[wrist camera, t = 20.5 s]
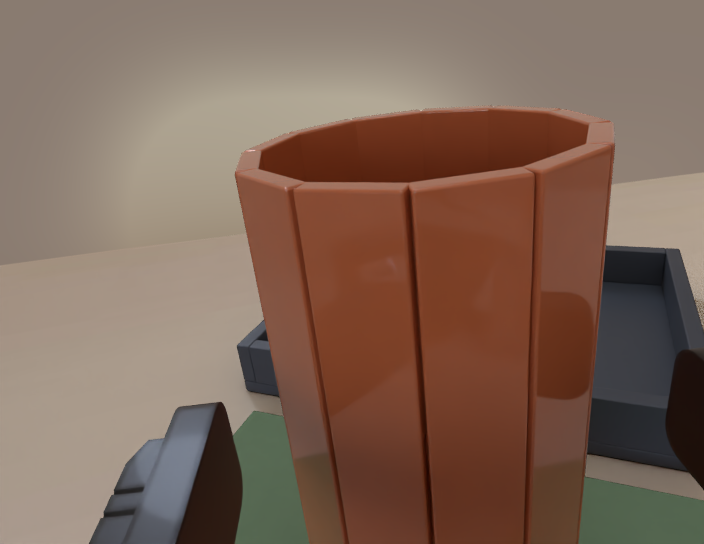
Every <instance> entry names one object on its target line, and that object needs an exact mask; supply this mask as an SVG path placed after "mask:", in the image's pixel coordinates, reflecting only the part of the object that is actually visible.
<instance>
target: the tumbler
mask: <svg viewBox="0 0 704 544" xmlns="http://www.w3.org/2000/svg"><path fill="white" fill-rule="evenodd" d="M614 132H615V130H614V123H612V122H611V121H609V120H605V119H601V118H597V117H593V116H590V115H585V114H581V113H578V112H574V111H571V110H567V109H564V110H561V109H559V108H539V107H519V106H495V107H493V106H474V107H453V108H433V109H424V110H422V111H420V110H411V111H403V112H395V113H387V114H380V115H372V116H365V117H357V118H353V119H352V120H350V119H345V120H341V121H336V122H332V123H328V124H323V125H319V126H314V127H311V128H306V129H301V130H297V131H293V132H290V133H289V134H283V135H281V136H278V137H276V138H274V139H271V140H269V141H267V142H264V143H262V144H260V145H257V146H255V147H253V148H250V149H248V150H246V151H244V152H243V153H241V156H240V159H239V162H238V165H237V168H236V171H235V178H236V183H237V187H238V193H239V198H240V203H241V208H242V212H243V218H244V223H245V228H246V233H247V238H248V243H249V247H250V252H251V257H252V262H253V267H254V272H255V277H256V282H257V287H258V292H259V297H260V302H261V307H262V312H263V317H264V322H265V327H266V332H267V337H268V342H269V346H270V351H271V356H272V361H273V366H274V371H275V376H276V381H277V386H278V391H279V396H280V401H281V406H282V411H283V416H284V421H285V426H286V431H287V436H288V440H289V445H290V450H291V455H292V460H293V465H294V470H295V475H296V480H297V485H298V490H299V495H300V500H301V505H302V510H303V515H304V520H305V525H306V530H307V535H308V539H309V544H579V535H580V524H581V513H582V502H583V491H584V480H585V469H586V458H587V447H588V436H589V425H590V414H591V403H592V392H593V381H594V370H595V359H596V349H597V338H598V327H599V316H600V305H601V294H602V283H603V272H604V261H605V250H606V239H607V228H608V217H609V206H610V195H611V184H612V173H613V163H614V162H613V161H614V152H615V151H614V150H615V133H614Z"/></svg>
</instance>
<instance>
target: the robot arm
mask: <svg viewBox="0 0 704 544" xmlns="http://www.w3.org/2000/svg"><path fill="white" fill-rule="evenodd" d="M665 428H666V434H667V438H668V441H669V443H670V446H671V448H672V450H673V452H674V453H675V455H676V456H677V458H678V459H679V460H680V461H681V463H682V464H683V465H684V466H685V468H686V469H687V470H688V471H689V472H690V474H691V475H692V476H693V477H694V479H695V480H696V481H697V482H698V483H699V485H700V486H701V487H702V488H703V490H704V347H702V348H693V349H685V350H682V351H680V352H679V353H678V354H677V356H676V358H675V362H674V368H673V375H672V381H671V387H670V393H669V400H668V406H667V412H666V419H665ZM242 499H243V481H242V472H241V466H240V462H239V458H238V455H237V451H236V447H235V443H234V439H233V435H232V431H231V427H230V423H229V419H228V415H227V412H226V409H225V406H224V405H223V403H222V402H217V403H208V404H199V405H191V406H182V407H178V408H177V409H176V411H175V413H174V415H173V418H172V420H171V423H170V425H169V428H168V430H167V433H166V435H165V438H163V439H154V440H148V441H147V442H146V443H145V444H144V445H143V447H142V448H141V449H140V450H139V451H138V452H137V453H136V454H135V455H134V456H133V457H132V458H131V459H130V460H129V461H128V462H127V463H126V465H125V467H124V469H123V472H122V474H121V476H120V478H119V480H118V482H117V485H116V487H115V489H114V495H111V497H110V500H109V502H108V504H107V506H106V508H105V510H104V512H103V513H104V517H103V518H101V519H100V521H99V523H98V525H97V528H96V530H95V532H94V534H93V536H92V538H91V540H90V543H89V544H235V540H236V534H237V529H238V523H239V518H240V512H241V507H242Z"/></svg>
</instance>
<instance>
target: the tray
mask: <svg viewBox="0 0 704 544" xmlns="http://www.w3.org/2000/svg"><path fill="white" fill-rule="evenodd" d="M702 347H704V331H703V328H702V324H701V321H700V317H699V314H698V311H697V307H696V304H695V301H694V297H693V294H692V290H691V287H690V284H689V280H688V277H687V274H686V270H685V267H684V263H683V260H682V257H681V253H680V250H679V249H668V248H666V249H665V248H650V247H628V246H606V250H605V261H604V272H603V283H602V294H601V305H600V316H599V327H598V338H597V349H596V359H595V370H594V381H593V392H592V403H591V414H590V425H589V436H588V447H587V453H591V454H597V455H602V456H608V457H613V458H619V459H624V460H630V461H635V462H640V463H646V464H651V465H657V466H662V467H668V468H673V469H679V470H684V471H688V470H687V469H686V468H685V466H684V465H683V464H682V463H681V461H680V460H679V459H678V458H677V456H676V455H675V453H674V452H673V450H672V448H671V446H670V443H669V441H668V438H667V434H666V428H665V419H666V412H667V406H668V400H669V393H670V387H671V381H672V375H673V368H674V362H675V358H676V356H677V354H678V353H679V352H680V351H682V350H685V349H693V348H702ZM237 349H238V354H239V358H240V362H241V367H242V371H243V375H244V379H245V385H246V389H247V390H248V391H254V392H259V393H265V394H270V395H276V396H279V391H278V386H277V381H276V376H275V371H274V366H273V361H272V356H271V351H270V346H269V342H268V337H267V332H266V327H265V322H264V320H263V321H262V322H261V323H260V324H259V325H258V326H257V327H256V328H255V329H254V330H253V331H251V332H250V333H249V334H248V335H247V336H246V337H245V338H244V339H243V340H242V341H241V342H240V343H239V344H238V345H237Z"/></svg>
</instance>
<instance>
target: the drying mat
mask: <svg viewBox="0 0 704 544" xmlns="http://www.w3.org/2000/svg"><path fill="white" fill-rule="evenodd" d="M233 439H234V443H235V447H236V451H237V455H238V458H239V462H240V466H241V472H242V481H243V499H242V507H241V512H240V518H239V523H238V529H237V534H236V540H235V544H309V539H308V535H307V530H306V525H305V520H304V515H303V510H302V505H301V500H300V495H299V490H298V485H297V480H296V475H295V470H294V465H293V460H292V455H291V450H290V445H289V440H288V436H287V431H286V426H285V421H284V417H283V416H278V415H273V414H268V413H263V412H258V411H253V413H252V414H251V415H250V416H249V417H248V418H247V420H246V421H245V422H244V423H243V424H242V426H241V427H240V428H239V429H238V430H237V432H236V433H235V434H234V435H233ZM579 544H704V501H703V500H698V499H693V498H688V497H683V496H678V495H673V494H668V493H663V492H658V491H653V490H648V489H643V488H638V487H633V486H628V485H623V484H618V483H613V482H608V481H603V480H598V479H593V478H588V477H585V480H584V491H583V502H582V513H581V524H580V535H579Z"/></svg>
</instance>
